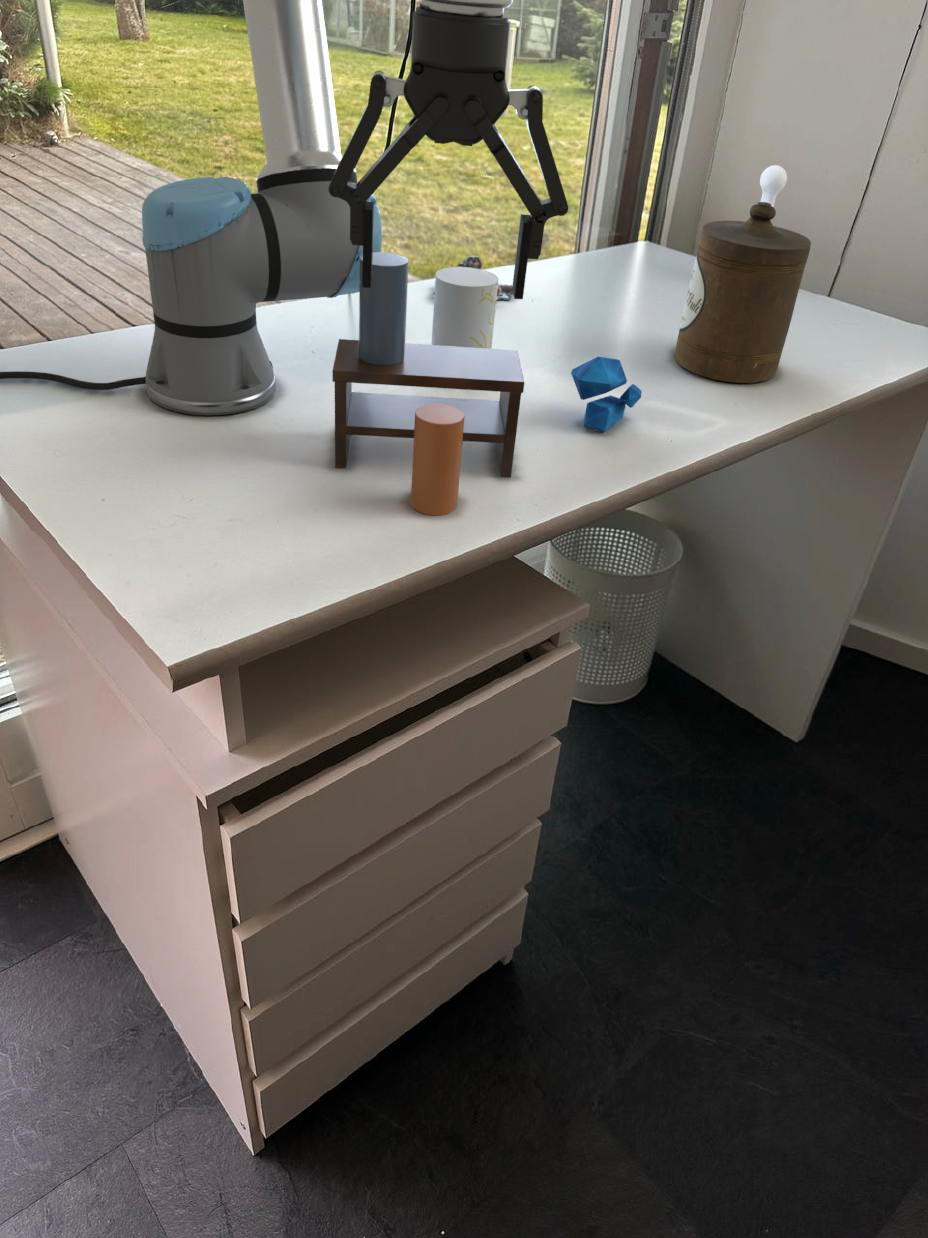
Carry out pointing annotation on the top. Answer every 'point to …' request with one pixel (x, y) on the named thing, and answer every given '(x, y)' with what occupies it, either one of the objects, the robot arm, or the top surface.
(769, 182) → the white light bulb
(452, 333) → the cup
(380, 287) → the slate tin
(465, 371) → the desk shelf
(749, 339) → the wooden container
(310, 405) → the top surface
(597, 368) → the crystal
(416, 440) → the copper tin
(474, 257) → the stuffed animal
